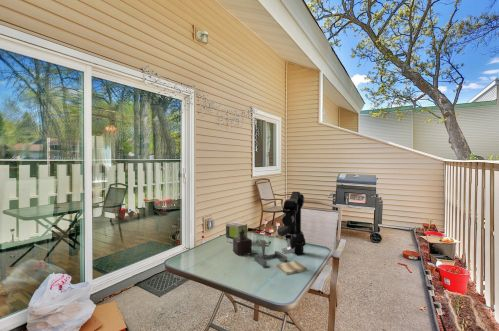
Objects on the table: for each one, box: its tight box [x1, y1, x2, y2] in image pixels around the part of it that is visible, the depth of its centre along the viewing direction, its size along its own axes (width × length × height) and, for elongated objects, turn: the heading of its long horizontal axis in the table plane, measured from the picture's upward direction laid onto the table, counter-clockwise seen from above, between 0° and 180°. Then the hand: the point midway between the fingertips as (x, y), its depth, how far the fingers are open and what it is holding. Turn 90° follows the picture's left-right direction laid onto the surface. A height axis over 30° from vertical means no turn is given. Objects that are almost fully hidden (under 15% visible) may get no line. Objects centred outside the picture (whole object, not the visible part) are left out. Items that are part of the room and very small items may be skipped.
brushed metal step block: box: [281, 238, 295, 255], centre depth 150 cm, size 7×3×8 cm, turn 114°
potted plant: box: [232, 229, 253, 256], centre depth 176 cm, size 16×11×18 cm
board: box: [275, 260, 308, 275], centre depth 151 cm, size 14×12×1 cm
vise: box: [254, 250, 288, 268], centre depth 161 cm, size 17×12×4 cm
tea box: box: [225, 221, 248, 244], centre depth 200 cm, size 15×10×15 cm
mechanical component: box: [255, 239, 272, 256], centre depth 172 cm, size 3×10×10 cm, turn 79°
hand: (291, 247), depth 150 cm, fingers closed on brushed metal step block, 3 cm apart
